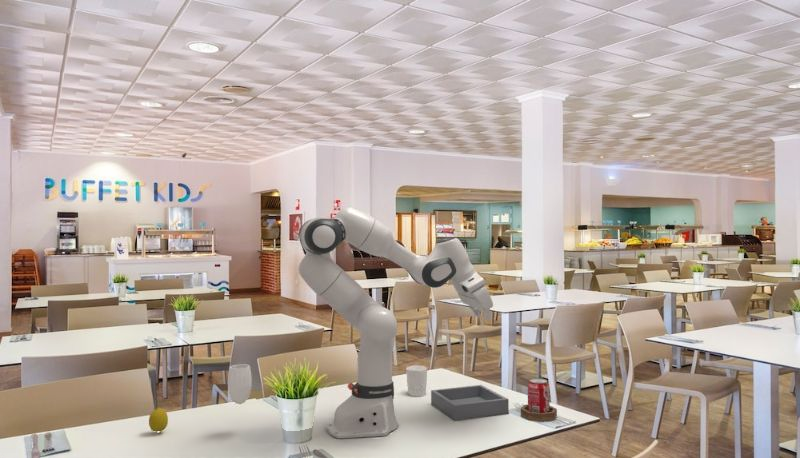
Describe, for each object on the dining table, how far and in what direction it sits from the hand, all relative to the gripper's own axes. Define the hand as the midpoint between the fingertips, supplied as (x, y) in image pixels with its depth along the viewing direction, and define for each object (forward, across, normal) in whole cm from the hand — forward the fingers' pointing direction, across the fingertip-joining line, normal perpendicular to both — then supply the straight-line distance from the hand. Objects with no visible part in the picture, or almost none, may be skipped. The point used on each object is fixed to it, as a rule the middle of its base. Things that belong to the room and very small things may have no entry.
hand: (483, 316), depth 203 cm
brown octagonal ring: (+37, +7, 0) cm, 38 cm away
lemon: (-18, -14, -108) cm, 110 cm away
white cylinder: (+24, -31, -28) cm, 48 cm away
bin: (+29, -8, -17) cm, 34 cm away
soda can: (+37, +7, 0) cm, 38 cm away
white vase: (-6, -7, -86) cm, 86 cm away
